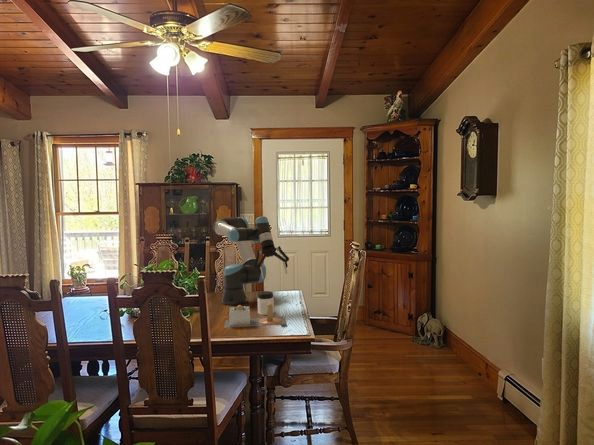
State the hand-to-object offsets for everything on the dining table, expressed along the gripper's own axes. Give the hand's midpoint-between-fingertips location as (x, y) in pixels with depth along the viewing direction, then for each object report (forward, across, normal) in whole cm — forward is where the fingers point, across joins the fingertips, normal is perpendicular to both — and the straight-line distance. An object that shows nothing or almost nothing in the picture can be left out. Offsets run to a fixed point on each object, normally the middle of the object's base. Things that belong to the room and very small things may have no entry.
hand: (274, 275), depth 239 cm
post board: (+27, -17, -15) cm, 35 cm away
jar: (+20, -10, +1) cm, 22 cm away
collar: (+24, -24, -15) cm, 37 cm away
